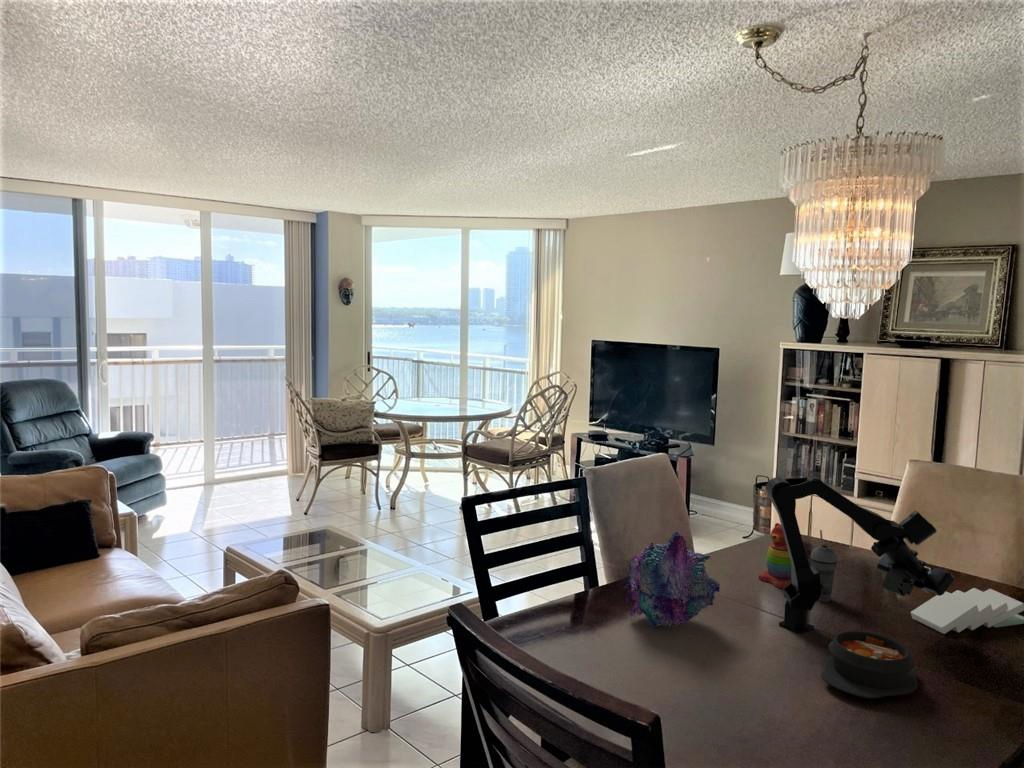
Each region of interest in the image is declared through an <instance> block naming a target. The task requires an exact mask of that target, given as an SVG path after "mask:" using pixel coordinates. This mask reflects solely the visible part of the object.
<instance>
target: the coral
mask: <svg viewBox="0 0 1024 768" xmlns="http://www.w3.org/2000/svg"><path fill="white" fill-rule="evenodd" d="M710 558H711V556H710V554H709V553H708V554H707V553H706V554H703V553H701V552H695V551H693V552H692V550H689V549H688V547H687V539H685V537H684V535H683V534H682V532H680V531H677V530H676V531H674V532H673V533H672V534H671V536H670V537H669V540H668V541H667V542H666V543H660V544H659V543H656V544H655V545H654V542H653V541H652V542H650V544H649V545H648V547H644V549H643V550H642V551H641V552H640V554H635V555H634V556H633V557H632V558H631V559H630V561H629V564H628V565H629V569H628V570H629V571H628V575H627V581H626V585H625V586H623V589H625V590H628V591H627V597H626V598H625V602H626V603H629V601H631V602H635V603H634V604H633V606H631V608H630V609H629V610H628V614H629V615H630V617H633V616H635V613H636V614H638V616H642V614H644V616H645V617H646V621H647V622H648V623H647V624H648V625H649V626H650V627H653V628H656V627H659V626H665V627H667V626H668V627H671V626H673V625H675V626H678V625H681V624H683V623H689V621H690V620H692V619H693V618H695V617H696V616H698V615H699V613H700V612H701V611H702V609H703V610H704V609H705V610H706V608H707V607H709V606H713V605H714V601H715V598H716V596H715V593H716V592H717V593H720V592H721V591H720V589H721V586H720V585H721V583H720V582H718V581H717V580H716V579H715V578H713V577H709V574H707V573H708V572H707V571H706V566H705V563H706V561H708V560H709V559H710ZM659 624H660V625H659Z"/></svg>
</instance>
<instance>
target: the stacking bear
mask: <svg viewBox="0 0 1024 768" xmlns="http://www.w3.org/2000/svg"><path fill="white" fill-rule="evenodd" d="M770 538H771V540H772V542H771V543H770V545H769V546H768V549H767V553H766V559H765V561H766V566H767V571H763V572H760V573H759V574H758V580H760V581H762V580H763V582H766V581H767V583H770V584H772V585H773V586H774V587H775V586H776V587H775V588H778V589H782V590H783V589H784V588H785V587H786V586H788V585H789V584H790V583H791V582H792V580H791V568H792V564H791V560H790V556H789V552H788V549H787V545H786V541H785V537H784V534H783V530H782V526H781V523H780V522H776V523H775V524H774V527H773V528H772V529H771V532H770Z"/></svg>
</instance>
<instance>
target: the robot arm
mask: <svg viewBox="0 0 1024 768" xmlns="http://www.w3.org/2000/svg"><path fill="white" fill-rule="evenodd" d="M765 490H766V494H767V495H768V498H769V499H770V501H771V503H772V506H773V507H774V509H775V511H776V513H777V514H778V518H779V524H780V525H781V526H782V530H783V534H784V537H785V541H786V545H787V549H788V552H789V556H790V560H791V564H792V568H791V580H792V582H791V583H790V584H789V585H788V586H786V587H785V588H784V589H782V593H783V596H784V598H785V599H786V601H785V603H784V613H783V615H784V616H783V617H784V618H783V620H782V621H778V625H779V626H781V627H783V628H785V629H788V630H790V631H793V632H795V633H797V634H803V633H805V632H808V631H811V630H813V629H815V625H812V624H810V616H811V611H812V610H813V607H814V605H815V603H816V602H818V599H819V598H820V597H821V595H822V591H821V588H822V589H824V587H823V586H822V585H821V582H820V574H819V572H818V571H817V570H816V569H815V568H814V567H813V566H812V565H810V563H809V560H808V557H807V552H806V550H805V545H804V542H803V538H802V535H801V531H800V527H799V523H798V520H797V515H796V510H797V509H796V507H797V506H796V505H797V504H796V503H797V500H800V499H803V498H807V497H810V496H813V495H815V496H817V497H819V498H820V499H822V500H823V501H825V502H826V503H828V504H830V505H831V506H832V507H833V508H835V509H837V510H839V511H840V512H841V513H843V514H844V515H846V516H848V518H850V519H851V520H852V521H853V522H854V523H855V524H856V525H857V526H858V527H859V528H860V529H862V531H864V532H865V533H866V534H867V535H869V536H870V537H871V538H872V539H874V540H876V542H875V541H874V542H873V545H872V546H871V548H870V550H871V551H872V552H873V553H874V554H875V555H876V556H877V557H879V558H880V557H881V559H880V560H879V561H878V562H877V565H876V566H877V570H878V571H879V572H880V573H882V574H885V576H884V579H883V582H882V584H881V585H882V588H883V589H885V590H886V591H889V592H891V593H893V594H895V595H898V596H899V597H905V596H907V595H908V596H909V595H911V594H912V592H913V589H914V587H915V588H918V589H920V590H922V591H924V592H925V593H927V594H934V595H935V596H936V595H938V596H941V595H943V594H944V593H945V591H946V592H947V590H948V589H949V587H950V586H951V585H952V583H953V582H954V581H955V576H954V575H953V574H952V573H951V572H950V571H948V570H944V569H941V568H940V567H934V568H933V569H931V568H930V567H928V566H926V565H927V563H926V561H924V560H922V559H919V558H918V557H917V556H918V555H919V552H917V551H916V550H915V549H911V547H909V545H908V544H907V543H909V544H910V545H915V546H920V544H922V543H924V542H925V541H926V540H928V539H929V538H930V537H932V536H934V535H935V534H936V533H937V532H938V531H937V529H936V528H935V526H934V525H933V524H932V523H931V522H929V521H928V520H927V519H926V517H923V515H922V514H921V513H920V512H918V511H917V510H914V511H912V512H911V513H910V514H909V515H908V516H907V517H905V518H904V519H903V520H901V521H900V522H899V523H897V522H896V521H894V520H890V519H887V518H885V517H884V516H882V515H881V514H879V513H877V512H875V511H872V510H871V509H868V508H866V507H862V506H861V505H858V504H856V503H855V502H853V501H852V500H850V499H849V498H847V497H845V496H844V495H843V494H841V493H840V492H837V490H835V489H834V488H832V487H831V486H829V485H827V484H826V483H825V482H824V481H823V480H822V479H820V478H819V477H817V476H815V475H810V476H805V477H789V478H783V477H777V476H776V477H773V478H771V479H769V481H768V482H767V483H766V485H765ZM905 540H906V541H905Z"/></svg>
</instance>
